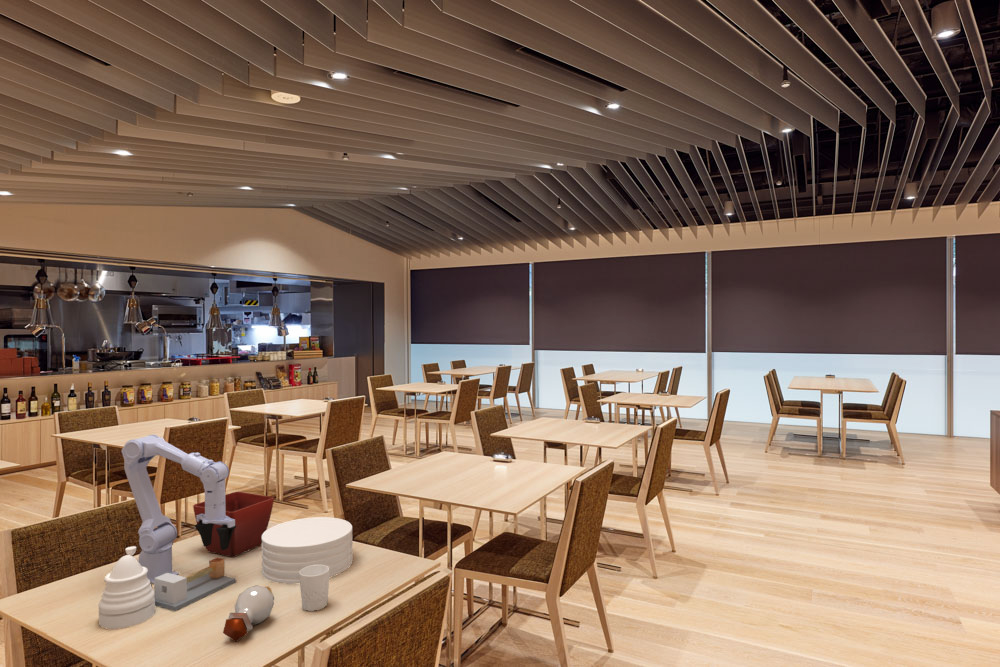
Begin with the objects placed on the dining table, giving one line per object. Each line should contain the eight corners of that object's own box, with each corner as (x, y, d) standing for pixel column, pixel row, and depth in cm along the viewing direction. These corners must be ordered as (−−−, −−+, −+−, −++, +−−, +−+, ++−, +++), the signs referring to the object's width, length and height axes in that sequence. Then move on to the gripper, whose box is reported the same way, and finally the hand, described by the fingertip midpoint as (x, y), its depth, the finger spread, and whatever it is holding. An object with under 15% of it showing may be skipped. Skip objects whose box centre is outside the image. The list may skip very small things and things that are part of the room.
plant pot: (276, 543, 215) (275, 496, 215) (232, 562, 198) (232, 512, 198) (237, 536, 223) (236, 491, 223) (192, 554, 206) (191, 505, 205)
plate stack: (370, 560, 199) (370, 525, 199) (302, 592, 176) (301, 553, 176) (313, 544, 214) (313, 512, 214) (243, 571, 191) (242, 536, 191)
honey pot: (120, 605, 168) (118, 542, 168) (165, 606, 168) (163, 542, 167) (87, 629, 155) (85, 560, 155) (135, 629, 155) (134, 560, 154)
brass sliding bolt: (182, 589, 175) (182, 572, 175) (217, 573, 186) (217, 557, 186) (189, 591, 173) (189, 573, 173) (224, 575, 184) (224, 558, 184)
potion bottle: (269, 617, 163) (242, 653, 149) (239, 597, 163) (209, 631, 148) (286, 591, 162) (261, 626, 147) (256, 571, 162) (228, 603, 147)
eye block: (146, 602, 170) (146, 578, 169) (207, 575, 188) (207, 553, 188) (175, 611, 164) (175, 585, 164) (235, 582, 183) (235, 559, 182)
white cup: (303, 600, 170) (303, 565, 170) (332, 598, 171) (331, 563, 171) (296, 613, 163) (296, 576, 162) (326, 611, 163) (326, 575, 163)
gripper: (187, 503, 183) (188, 548, 183) (220, 509, 177) (221, 555, 177) (207, 497, 189) (208, 540, 190) (240, 503, 183) (241, 547, 184)
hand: (215, 547), depth 184 cm, fingers open, 7 cm apart
